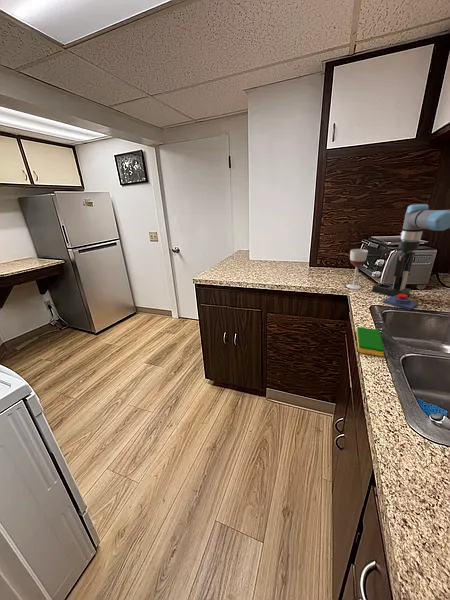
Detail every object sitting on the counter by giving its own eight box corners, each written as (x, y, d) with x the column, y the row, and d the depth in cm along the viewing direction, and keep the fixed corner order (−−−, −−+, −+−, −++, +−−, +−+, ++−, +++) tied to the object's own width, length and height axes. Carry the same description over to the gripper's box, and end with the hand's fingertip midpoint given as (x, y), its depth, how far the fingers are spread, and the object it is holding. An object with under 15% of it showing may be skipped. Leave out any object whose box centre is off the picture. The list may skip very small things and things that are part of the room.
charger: (404, 289, 122) (408, 271, 118) (401, 291, 120) (405, 273, 116) (395, 287, 125) (399, 269, 121) (392, 288, 123) (396, 271, 119)
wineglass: (347, 289, 134) (353, 252, 126) (343, 283, 142) (348, 249, 134) (363, 289, 132) (370, 252, 124) (358, 284, 140) (364, 248, 132)
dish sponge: (378, 335, 90) (379, 329, 89) (383, 356, 78) (384, 350, 77) (356, 332, 93) (357, 326, 92) (358, 352, 81) (359, 346, 80)
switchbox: (417, 305, 111) (419, 299, 110) (410, 310, 107) (412, 303, 106) (391, 298, 120) (392, 292, 119) (383, 302, 116) (384, 296, 114)
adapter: (409, 294, 123) (410, 289, 121) (402, 298, 119) (403, 293, 117) (379, 287, 133) (380, 282, 132) (371, 291, 129) (373, 285, 128)
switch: (407, 298, 112) (408, 295, 111) (404, 300, 110) (405, 297, 109) (398, 296, 115) (399, 293, 114) (395, 298, 113) (396, 295, 112)
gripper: (408, 237, 121) (397, 282, 129) (392, 242, 112) (382, 290, 121) (426, 238, 115) (414, 286, 124) (411, 243, 106) (399, 294, 115)
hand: (398, 288), depth 122 cm, fingers closed on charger, 4 cm apart
